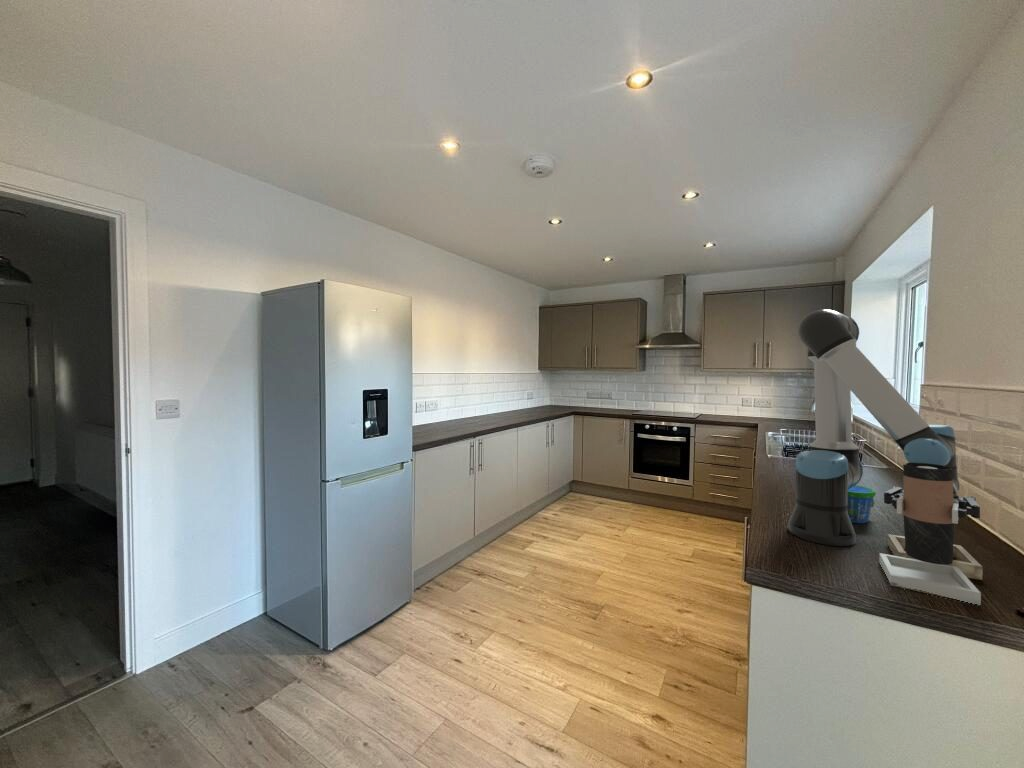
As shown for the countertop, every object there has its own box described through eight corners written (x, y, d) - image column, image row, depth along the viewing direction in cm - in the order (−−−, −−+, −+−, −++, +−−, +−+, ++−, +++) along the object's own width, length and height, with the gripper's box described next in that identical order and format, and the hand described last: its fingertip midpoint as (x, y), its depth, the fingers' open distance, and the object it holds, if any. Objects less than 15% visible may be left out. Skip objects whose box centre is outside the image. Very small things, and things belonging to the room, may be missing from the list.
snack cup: (847, 527, 120) (847, 493, 119) (815, 515, 130) (815, 484, 130) (891, 524, 122) (891, 491, 122) (856, 513, 132) (856, 482, 132)
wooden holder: (899, 564, 96) (899, 552, 96) (887, 545, 107) (887, 534, 107) (982, 580, 89) (982, 566, 88) (960, 557, 100) (960, 545, 100)
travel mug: (965, 566, 83) (964, 470, 83) (921, 564, 84) (920, 469, 84) (934, 551, 90) (933, 462, 90) (895, 549, 92) (893, 462, 92)
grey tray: (890, 586, 86) (890, 575, 86) (879, 563, 97) (879, 553, 97) (980, 605, 79) (981, 593, 79) (957, 578, 89) (957, 567, 89)
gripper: (999, 516, 91) (1002, 544, 76) (879, 498, 107) (862, 518, 92) (998, 483, 91) (1002, 504, 76) (878, 470, 107) (862, 485, 92)
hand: (925, 512), depth 84 cm, fingers closed on travel mug, 7 cm apart
